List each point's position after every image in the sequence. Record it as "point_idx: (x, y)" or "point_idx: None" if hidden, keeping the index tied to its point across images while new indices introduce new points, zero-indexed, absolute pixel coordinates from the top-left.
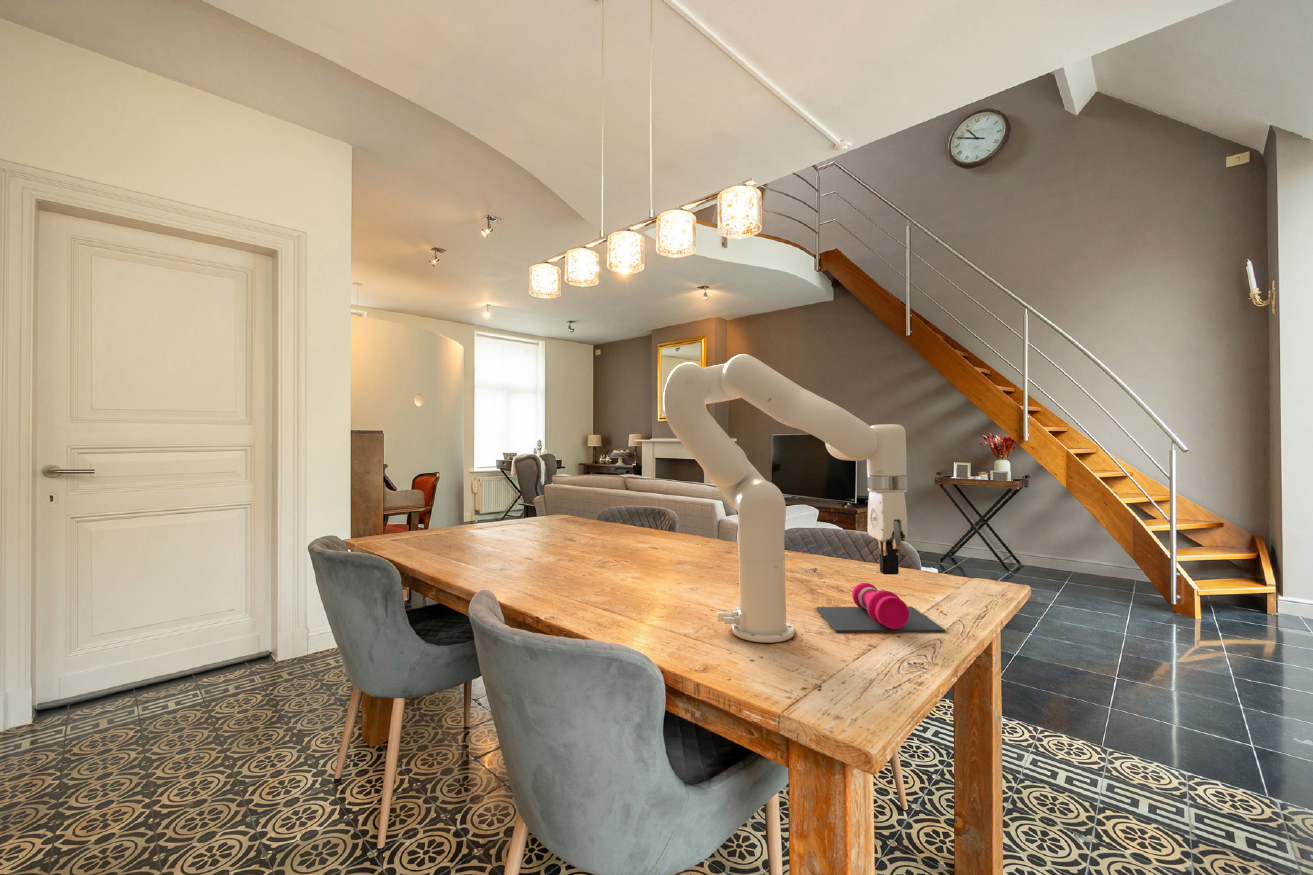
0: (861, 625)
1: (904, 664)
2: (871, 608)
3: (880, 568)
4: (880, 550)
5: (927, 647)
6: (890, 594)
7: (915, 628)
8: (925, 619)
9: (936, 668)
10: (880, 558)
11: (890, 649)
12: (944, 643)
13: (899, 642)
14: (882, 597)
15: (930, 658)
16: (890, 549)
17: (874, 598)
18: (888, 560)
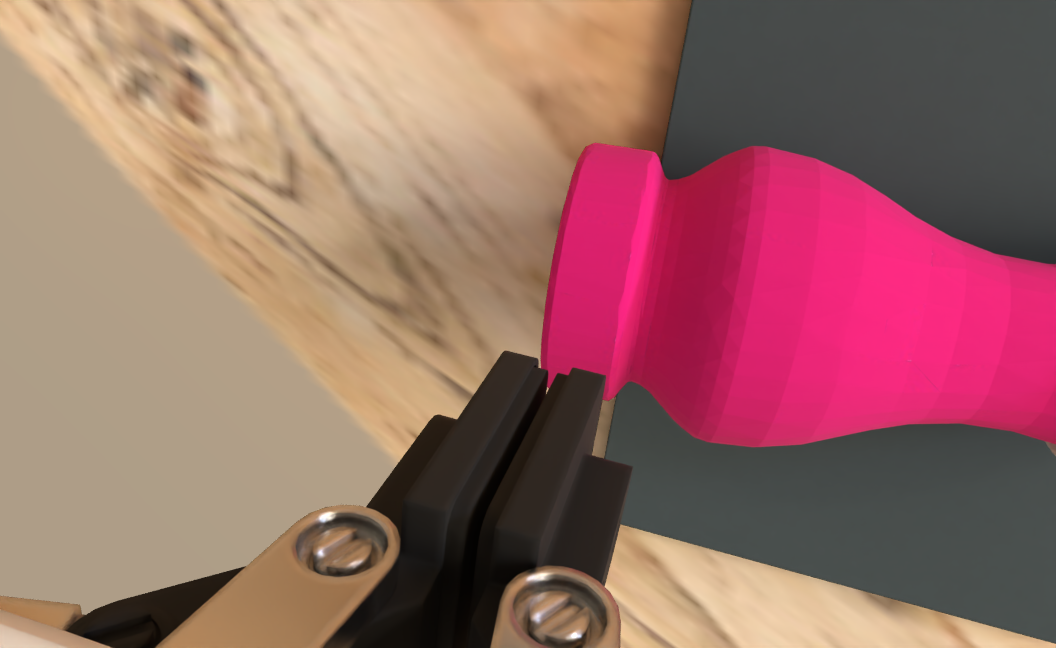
0: (791, 65)
1: (169, 8)
2: (726, 161)
3: (572, 391)
4: (541, 603)
5: (393, 277)
6: (683, 374)
7: (645, 389)
8: (789, 545)
9: (140, 146)
10: (521, 475)
11: (370, 50)
12: (442, 394)
13: (475, 172)
14: (676, 282)
15: (252, 196)
16: (146, 600)
17: (727, 222)
18: (383, 497)
